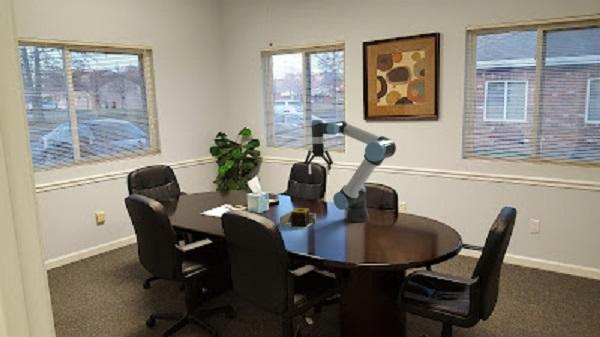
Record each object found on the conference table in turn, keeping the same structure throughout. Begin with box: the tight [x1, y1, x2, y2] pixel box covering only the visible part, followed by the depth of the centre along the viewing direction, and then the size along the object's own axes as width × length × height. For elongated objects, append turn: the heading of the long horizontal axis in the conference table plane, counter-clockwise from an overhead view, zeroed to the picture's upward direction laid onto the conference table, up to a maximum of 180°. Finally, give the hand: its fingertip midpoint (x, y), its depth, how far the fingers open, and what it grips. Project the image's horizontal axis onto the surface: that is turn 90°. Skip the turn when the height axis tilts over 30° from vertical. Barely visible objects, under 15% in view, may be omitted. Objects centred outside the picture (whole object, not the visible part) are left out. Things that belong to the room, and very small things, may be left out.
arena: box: [279, 210, 317, 227], centre depth 299 cm, size 19×15×6 cm
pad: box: [287, 223, 314, 230], centre depth 298 cm, size 12×12×1 cm
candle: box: [290, 207, 310, 228], centre depth 297 cm, size 10×10×10 cm
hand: (319, 174), depth 305 cm, fingers open, 13 cm apart
